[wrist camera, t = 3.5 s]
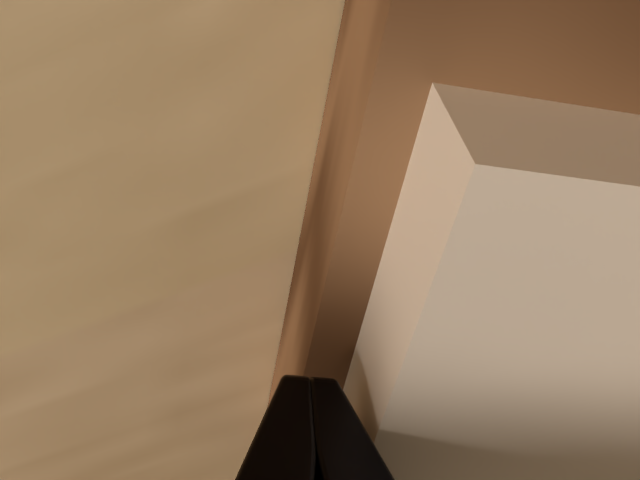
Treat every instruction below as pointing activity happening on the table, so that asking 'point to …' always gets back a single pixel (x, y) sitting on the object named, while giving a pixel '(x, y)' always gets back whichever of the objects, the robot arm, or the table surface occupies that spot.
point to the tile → (508, 297)
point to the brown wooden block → (403, 124)
